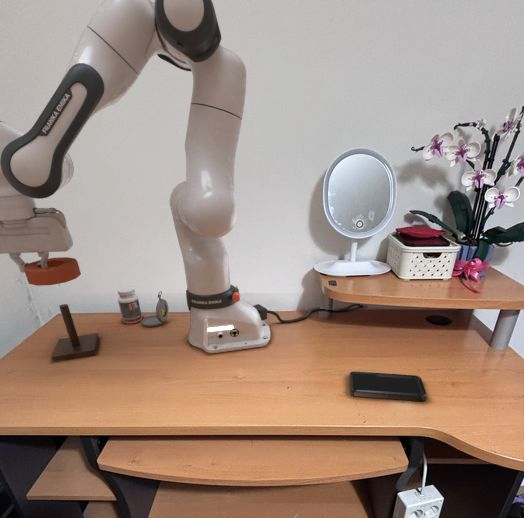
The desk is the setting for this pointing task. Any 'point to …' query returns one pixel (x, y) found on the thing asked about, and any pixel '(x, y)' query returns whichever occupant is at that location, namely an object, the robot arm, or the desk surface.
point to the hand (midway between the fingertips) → (34, 270)
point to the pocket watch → (157, 314)
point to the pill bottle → (129, 305)
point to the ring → (52, 271)
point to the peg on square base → (74, 340)
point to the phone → (387, 386)
